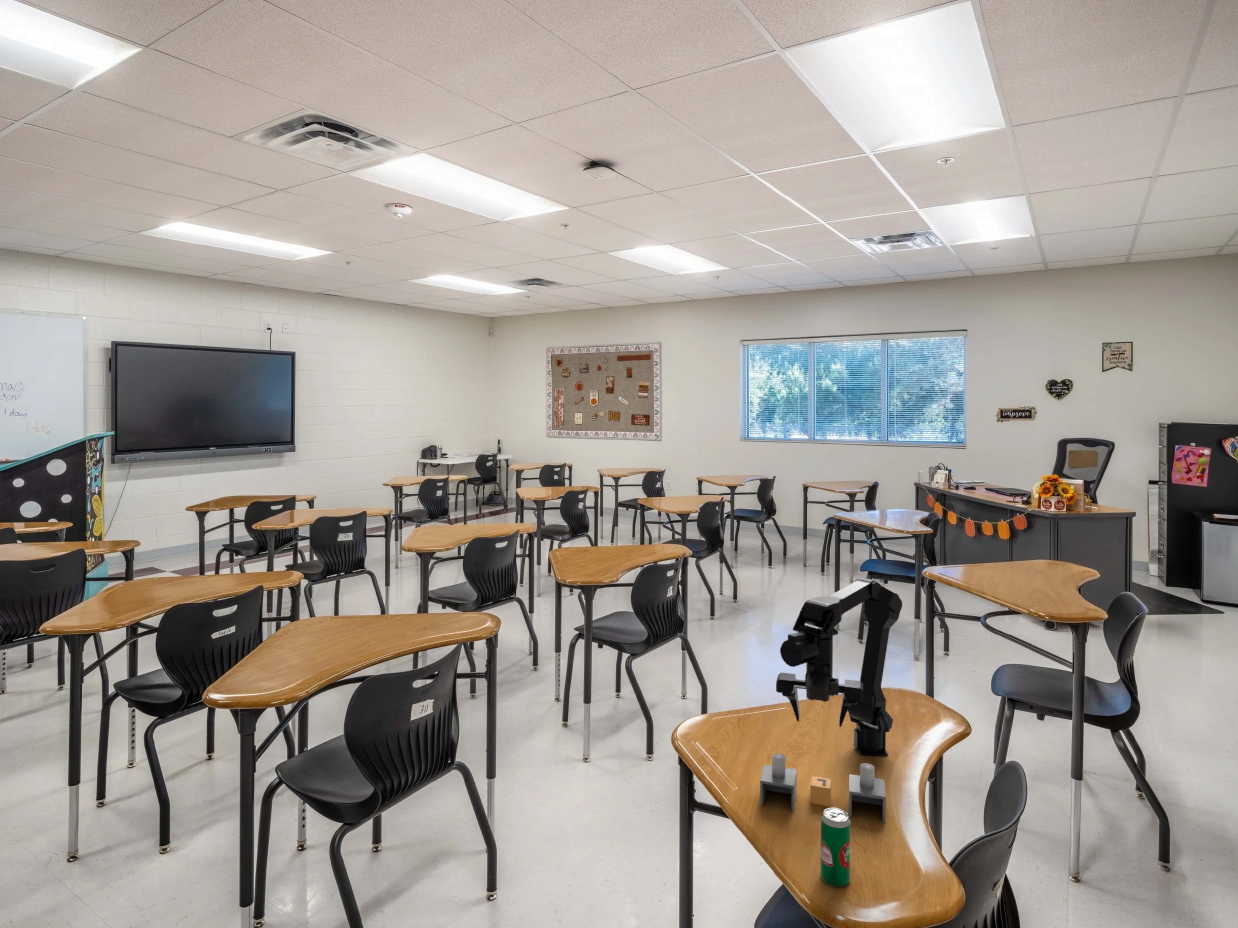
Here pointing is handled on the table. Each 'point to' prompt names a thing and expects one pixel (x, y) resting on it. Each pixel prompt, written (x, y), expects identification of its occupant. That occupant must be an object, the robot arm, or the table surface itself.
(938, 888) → the table surface
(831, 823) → the soda can
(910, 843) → the table surface
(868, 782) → the hood
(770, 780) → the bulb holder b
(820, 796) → the letter cube
